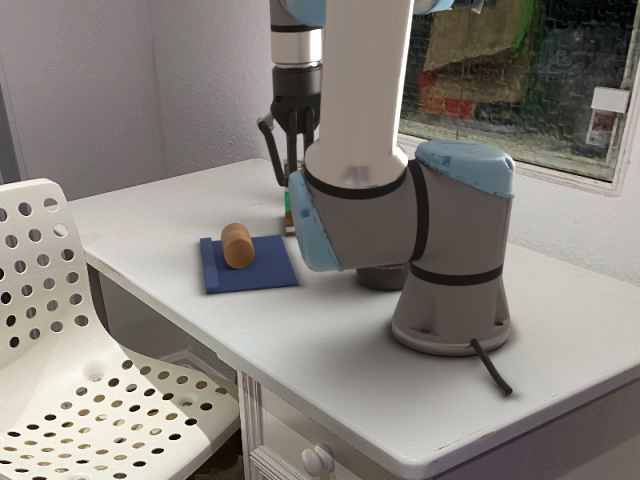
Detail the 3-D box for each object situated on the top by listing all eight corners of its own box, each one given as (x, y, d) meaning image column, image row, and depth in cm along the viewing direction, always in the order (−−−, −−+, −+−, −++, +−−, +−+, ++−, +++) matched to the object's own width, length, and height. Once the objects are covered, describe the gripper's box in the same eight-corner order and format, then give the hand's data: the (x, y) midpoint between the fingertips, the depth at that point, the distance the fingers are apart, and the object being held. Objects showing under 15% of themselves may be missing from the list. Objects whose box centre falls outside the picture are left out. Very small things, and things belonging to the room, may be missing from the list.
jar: (424, 268, 126) (428, 218, 121) (417, 294, 119) (420, 242, 114) (360, 265, 129) (361, 216, 124) (349, 291, 121) (349, 239, 116)
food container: (321, 237, 139) (321, 177, 133) (285, 239, 140) (283, 179, 134) (318, 214, 149) (318, 156, 143) (285, 215, 150) (283, 158, 143)
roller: (242, 232, 126) (218, 252, 128) (260, 256, 129) (236, 275, 130) (237, 216, 132) (214, 235, 134) (255, 239, 135) (232, 257, 136)
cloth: (298, 285, 124) (298, 279, 123) (207, 294, 123) (206, 288, 123) (280, 236, 141) (280, 230, 141) (200, 243, 141) (199, 238, 140)
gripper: (338, 55, 119) (338, 218, 134) (250, 63, 119) (259, 226, 133) (348, 63, 113) (347, 233, 128) (255, 71, 113) (264, 241, 127)
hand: (302, 229), depth 130 cm, fingers closed
